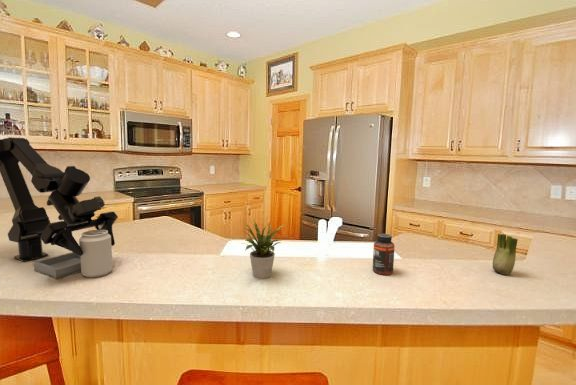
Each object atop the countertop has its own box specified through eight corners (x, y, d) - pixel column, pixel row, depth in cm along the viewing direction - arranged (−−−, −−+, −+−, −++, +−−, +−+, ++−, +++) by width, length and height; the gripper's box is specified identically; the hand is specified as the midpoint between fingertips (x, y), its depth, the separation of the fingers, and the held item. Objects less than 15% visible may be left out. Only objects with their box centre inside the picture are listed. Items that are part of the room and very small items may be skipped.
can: (98, 280, 81) (95, 236, 79) (74, 277, 83) (71, 234, 81) (119, 269, 88) (116, 229, 87) (97, 267, 90) (94, 227, 88)
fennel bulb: (515, 277, 89) (520, 238, 88) (497, 275, 90) (501, 236, 89) (506, 270, 95) (510, 232, 93) (488, 268, 96) (492, 231, 94)
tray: (34, 270, 86) (33, 262, 86) (78, 258, 96) (77, 250, 96) (56, 279, 81) (55, 270, 81) (100, 265, 91) (99, 257, 91)
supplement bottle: (394, 270, 93) (396, 234, 91) (391, 277, 87) (394, 239, 86) (373, 266, 95) (376, 231, 94) (370, 273, 90) (372, 236, 88)
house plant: (222, 279, 83) (222, 221, 81) (246, 262, 96) (246, 212, 94) (270, 289, 78) (271, 227, 76) (288, 269, 91) (290, 216, 89)
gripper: (43, 192, 75) (77, 241, 73) (111, 185, 92) (140, 224, 90) (27, 220, 79) (58, 267, 77) (95, 208, 96) (122, 246, 94)
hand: (98, 249), depth 84 cm, fingers open, 9 cm apart
